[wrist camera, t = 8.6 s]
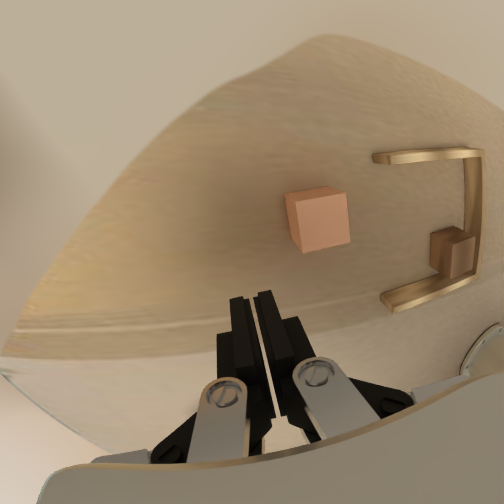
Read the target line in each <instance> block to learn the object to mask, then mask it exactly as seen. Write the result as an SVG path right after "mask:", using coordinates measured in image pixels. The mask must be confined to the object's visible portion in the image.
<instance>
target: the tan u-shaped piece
mask: <svg viewBox="0 0 504 504" xmlns="http://www.w3.org/2000/svg"><path fill="white" fill-rule="evenodd" d="M454 158H464V173H465V225H464V231H465V232H468V233H470V234H472V235H474V236H475V248H474V258H473V267H472V269H471V270H469V271H467V272H465V273H463V274H461V275H459V276H457V277H454V278H452V279H448V278H447V277H446V276H444V275H443V274H441V273H439V274H437V275H434V276H431V277H429V278H426V279H423V280H420V281H418V282H415V283H412V284H409V285H406V286H403V287H400V288H397V289H394V290H391V291H388V292H385V293H382V294H380V300H381V301H382V302H383V304H384V305H385V306H386V307H387V308H388V309H389V310H390V311H391V312H392V313H393V314H395V313H398V312H400V311H403V310H406V309H408V308H411V307H413V306H416V305H419V304H421V303H424V302H426V301H429V300H431V299H433V298H436V297H438V296H440V295H443V294H445V293H447V292H450V291H452V290H454V289H456V288H459V287H461V286H463V285H465V284H467V283H469V282H472V281H474V280H476V279H478V278H479V273H480V266H481V259H482V251H483V242H484V231H485V215H486V166H485V151H484V149H477V148H469V147H458V148H436V149H421V150H408V151H396V152H386V153H377V154H373V160H374V162H375V163H382V164H389V165H393V164H402V163H411V162H420V161H430V160H441V159H454Z"/></svg>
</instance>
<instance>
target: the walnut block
mask: <svg viewBox="0 0 504 504" xmlns="http://www.w3.org/2000/svg"><path fill="white" fill-rule="evenodd" d="M474 248H475V236H474V235H472V234H470V233H468V232H465V231H463V230H461V229H459V228H457V227H454V226H452V227H449V228H446V229H443V230H439V231H436V232H433V233H430V266H431V267H432V268H434V269H435V270H437V271H438V272H440V273H441V274H443V275H444V276H446V277H447V278H448V279H452V278H454V277H457V276H459V275H461V274H463V273H465V272H467V271H469V270H471V269H472V267H473V258H474Z"/></svg>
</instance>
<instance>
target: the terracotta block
mask: <svg viewBox="0 0 504 504" xmlns="http://www.w3.org/2000/svg"><path fill="white" fill-rule="evenodd" d="M284 197H285V203H286V209H287V215H288V221H289V228H290V234H291V239H292V240H293V241H294V243H295V244H296V245H297V246H298V248H299V249H300V250H301V252H302V253H306V252H311V251H315V250H320V249H324V248H329V247H333V246H338V245H342V244H346V243H350V232H349V220H348V209H347V199H346V193H345V192H342V191H339V190H336V189H334V188H331V187H328V186H327V187H321V188H315V189H309V190H304V191H298V192H293V193H287V194H284Z"/></svg>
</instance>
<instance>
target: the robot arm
mask: <svg viewBox="0 0 504 504" xmlns="http://www.w3.org/2000/svg"><path fill="white" fill-rule="evenodd" d="M253 299H254V304H255V308H256V312H257V317H258V321H259V325H260V330H261V334H262V338H263V343H264V347H265V351H266V356H267V360H268V364H269V368H270V373H271V377H272V381H273V385H274V389H275V394H276V398H277V402H278V406H279V410H280V414H281V417H282V416H286V415H287V418H288V422H289V423H290V424H292V425H294V426H296V427H299V428H300V429H301V432H302V434H303V436H304V438H305V440H306V442H307V445H303V446H299V447H295V448H291V449H286V450H282V451H277V452H272V453H267V454H265V439H264V436H265V434H266V433H267V432H268V431H269V430H270V429H271V427H272V423H271V419H273V418H276V414H275V410H274V405H273V401H272V396H271V392H270V387H269V383H268V378H267V374H266V369H265V365H264V360H263V356H262V351H261V347H260V343H259V339H258V335H257V330H256V326H255V322H254V318H253V314H252V310H251V305H250V301H249V298H248V299H244V298H243V296H241V297H236V298H232V299H230V313H231V325H232V331H230V332H225V333H220V334H217V379H216V380H214V381H212V382H211V383H209V384H208V385H207V386H206V387H205V388H204V389H203V392H202V394H201V398H200V402H199V407H198V411H197V412H196V413H195V414H194V415H193V416H191V417H190V418H189V419H188V420H187V421H186V422H184V423H183V424H182V425H181V426H180V427H178V428H177V429H176V430H175V431H174V432H172V433H171V434H170V435H169V436H168V437H166V438H165V439H164V440H163V441H161V442H160V443H159V444H158V445H157V446H156V447H155V448H154V449H153V450H152V451H148V450H147V449H143V450H138V451H132V452H127V453H121V454H114V455H108V456H101V457H98V458H96V459H94V460H93V461H92V462H91V463H88V464H79V465H74V466H70V467H66V468H63V469H60V470H58V471H56V472H54V473H52V474H51V475H50V476H49V477H48V478H47V480H46V481H45V483H44V485H43V487H42V489H41V492H40V494H39V497H38V500H37V503H36V504H504V327H503V326H502V325H500V324H496V325H494V326H492V327H491V328H489V329H488V330H487V331H486V332H485V333H484V334H483V335H482V336H481V337H480V338H479V339H478V340H477V341H476V343H475V344H474V345H473V347H472V348H471V349H470V351H469V353H468V354H467V356H466V358H465V360H464V361H463V364H462V366H461V370H460V376H455V377H452V378H449V379H446V380H443V381H439V382H436V383H432V384H429V385H425V386H421V387H417V388H413V389H412V391H411V392H409V393H406V392H403V391H401V390H397V389H393V388H388V387H384V386H380V385H376V384H372V383H368V382H364V381H360V380H356V379H353V378H349V377H347V376H346V375H345V373H344V372H343V371H342V370H341V368H340V367H339V366H338V365H337V364H336V363H335V362H334V361H333V360H331V359H329V358H325V357H316V355H315V353H314V351H313V349H312V346H311V344H310V342H309V340H308V338H307V335H306V333H305V331H304V329H303V326H302V324H301V322H300V320H299V318H298V316H295V317H291V318H287V319H283V320H282V319H281V316H280V314H279V311H278V308H277V305H276V303H275V300H274V297H273V294H272V291H271V290H268V291H263V292H259V293H258V296H257V297H253Z"/></svg>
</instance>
